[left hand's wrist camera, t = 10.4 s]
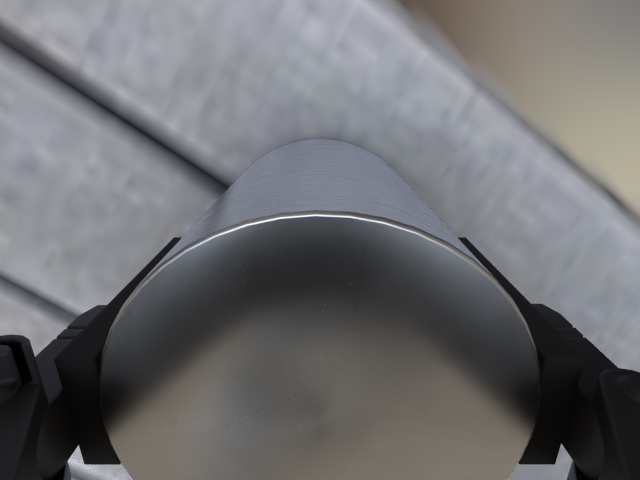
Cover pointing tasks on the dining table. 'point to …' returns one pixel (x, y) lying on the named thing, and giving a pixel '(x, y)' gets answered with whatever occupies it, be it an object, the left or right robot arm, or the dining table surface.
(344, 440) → the can
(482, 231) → the dining table surface
